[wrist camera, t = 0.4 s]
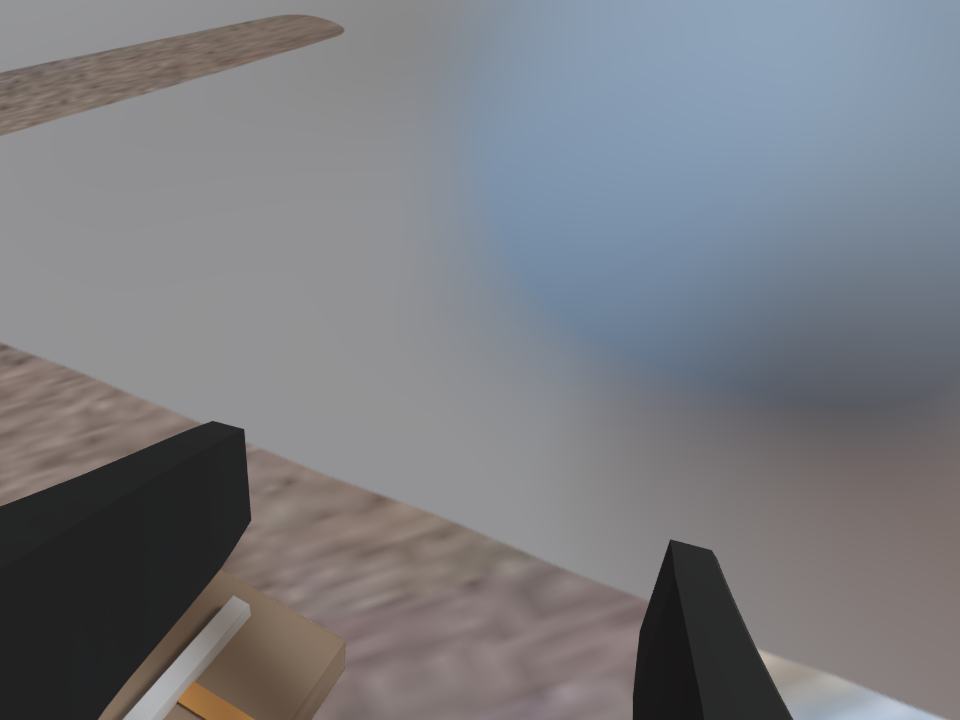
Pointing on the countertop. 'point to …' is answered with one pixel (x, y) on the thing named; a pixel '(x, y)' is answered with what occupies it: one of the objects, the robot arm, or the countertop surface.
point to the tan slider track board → (234, 662)
